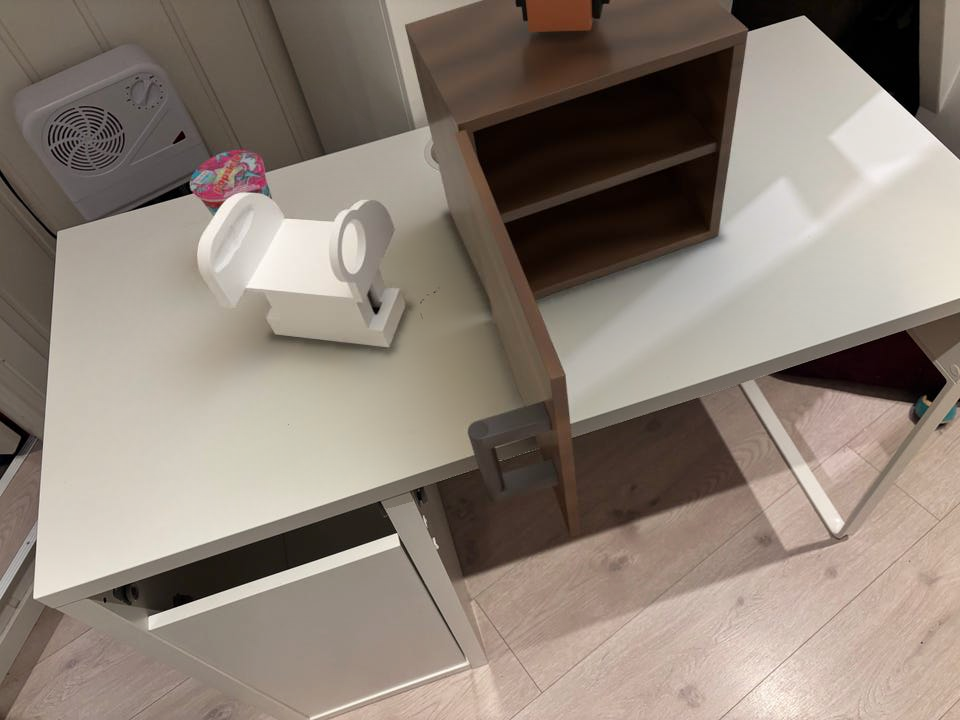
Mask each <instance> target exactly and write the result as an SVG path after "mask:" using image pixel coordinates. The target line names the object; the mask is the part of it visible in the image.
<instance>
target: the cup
mask: <svg viewBox="0 0 960 720" xmlns="http://www.w3.org/2000/svg"><path fill="white" fill-rule="evenodd" d="M189 189H190V191H191V192H192V193H193V195H195V196H196V197H197V198H198V199H199V200H201V202H202V203H203V204H204V206H205V207H206V208H207V210H208V212H210V213H211V215H212V216H213V217H214V216H215V214H216V212H217V211H218V209H219V208H220V206H221V205H222V204H223V203H224V202H225V201H226V200H227V199H228V198H230V197H231V196H233V195H235V194H237V193H243V192H245V193H260V194H264V195H266V196H268V197H269V198H271V199H272V200H273V201H274V199H273V196H272V193H271V191H270V188H269V184H268V181H267V176H266V170H265V165H264V161H263V158H262V157H261V156H260V155H258V154H257V153H255V152H253V151H251V150H244V149H234V150H228V151H224V152H221V153H219V154H216V155H214V156H212V157H211V158H209V159H207V160H205V161H204V162H203V163H201V164H200V165H199V166H198V167H197V168H196V169H195V171H194V172H193V173H192V175H191V177H190V181H189Z"/></svg>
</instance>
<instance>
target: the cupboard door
mask: <svg viewBox="0 0 960 720" xmlns="http://www.w3.org/2000/svg"><path fill="white" fill-rule="evenodd" d="M455 138H456V143H457V147H458V152H459V157H460V162H461V166H462V171H463V176H464V181H465V185H466V190H467V195H468V200H469V204H470V209H471V214H472V219H473V223H474V228H475V233H476V238H477V242H478V247H479V252H480V257H481V261H482V266H483V271H484V276H485V280H486V285H487V290H488V295H489V297H488V299H489V304H490V309H491V313H492V317H493V321H494V325H495V327H496V330H497V333H498V336H499V338H500V341H501V345H502V347H503V350H504V353H505V356H506V358H507V361H508V365H509V367H510V370H511V372H512V375H513V376H512V377H513V378H514V381H515V384H516V387H517V389H518V392H519V396H520V399H521V401H522V404H523V406H522V407H518V408H515V409H512V410H509V411H505V412H501V413H499V414H495V415H492V416H488V417H485V418H481V419H478V420H475V421H473V422H472V423H471V424H469V425H468V428H467V435H468V439H469V442H470V446H471V448H472V451H473V452H472V453H473V454H474V458H475V461H476V465H477V467H478V470H479V474H480V477H481V480H482V483H483V486H484V487H483V488H484V489H485V492H486V496H487V499H488V500H489V501H491V502H492V503H494V504H498V503H502V502H506V501H510V500H513V499H515V498H519V497H522V496H525V495H530V494H533V493H536V492H539V491H542V490H546V489H550V488H552V490H553V493H554V495H555V499H556V500H557V504H558V506H559V509H560V513H561V515H562V518H563V521H564V524H565V526H566V530H567V533H568V535H569V538H570V539H575V538H576V537H580V536H582V528H581V518H580V517H581V516H580V507H579V495H578V487H577V477H576V467H575V456H574V445H573V436H572V426H571V418H570V417H571V416H570V406H569V405H570V404H569V397H568V396H569V395H568V387H567V377H566V372H565V370H564V368H563V366H562V363H561V361H560V358H559V355H558V353H557V351H556V348H555V346H554V343H553V340H552V338H551V336H550V333H549V330H548V328H547V325H546V323H545V320H544V319H543V315H542V314H541V311H540V309H539V306H538V304H537V301H536V299H534V296H533V294H532V291H531V289H530V286H529V284H528V281H527V279H526V276H525V274H524V272H523V269H522V267H521V264H520V262H519V259H518V257H517V254H516V252H515V249H514V247H513V244H512V242H511V240H510V237H509V235H508V232H507V230H506V227H505V225H504V222H503V220H502V217H501V215H500V212H499V210H498V208H497V205H496V203H495V200H494V198H493V195H492V193H491V190H490V188H489V185H488V183H487V180H486V178H485V176H484V173H483V171H482V168H481V166H480V163H479V161H478V158H477V156H476V153H475V151H474V148H473V146H472V144H471V141H470V139H469V136H468V134H467V131H466V130H463V131H460V132H456V133H455ZM488 295H487V296H488ZM531 437H534V438H535V441H536V443H537V447H538V449H539V452H540V455H541V459H542V461H539V462H536V463H532V464H530V465H527V466H523V467H519V468H515V469H513V470H509V471H505V472H502V468H501V465H500V461H499V456H498V453H497V449H496V448H497V447H502V446H504V445H509V444H511V443H514V442H518V441H521V440H525V439H529V438H531Z"/></svg>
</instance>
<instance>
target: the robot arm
mask: <svg viewBox="0 0 960 720" xmlns="http://www.w3.org/2000/svg"><path fill="white" fill-rule="evenodd" d="M515 2H516V7H522V15H523V21H528V16H527V6H526V0H515ZM609 3H610V0H592V17H594V19H600V17H601V13H602V8H603V4H609Z"/></svg>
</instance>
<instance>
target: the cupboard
mask: <svg viewBox="0 0 960 720" xmlns="http://www.w3.org/2000/svg"><path fill="white" fill-rule="evenodd" d="M404 28H405V32H406V36H407V40H408V44H409V49H410V53H411V57H412V62H413V65H414V69H415V74H416V77H417V82H418V87H419V90H420V95H421V99H422V103H423V106H424V111H425V115H426V119H427V123H428V128H429V132H430V136H431V140H432V144H433V147H434V153H435V157H436V161H437V165H438V169H439V173H440V177H441V182H442V185H443V190H444V195H445V198H446V201H447V206H448V210H449V211H448V212H449V213H450V216H451V218H452V220H453V223H454V225H455V226H456V228H457V231H458V234H459V235H460V238H461V239H462V242H463V244H464V246H465V248H466V251H467V253H468V255H469V258H470V259H471V262H472V264H473V266H474V268H475V270H476V272H477V275H478V277H479V279H480V281H481V284H482V286H483V288H484V290H485V293H486V294H487V297H488V298H489V295H488V290H487V285H486V280H485V276H484V271H483V266H482V261H481V257H480V252H479V247H478V242H477V238H476V233H475V228H474V223H473V219H472V214H471V209H470V204H469V200H468V195H467V190H466V185H465V181H464V176H463V171H462V166H461V162H460V157H459V152H458V147H457V143H456V138H455V133H456V132H460V131H463V130H466V131H467V134H468V136H469V139H470V141H471V144H472V146H473V148H474V151H475V153H476V156H477V158H478V161H479V163H480V166H481V168H482V171H483V173H484V176H485V178H486V180H487V183H488V185H489V188H490V190H491V193H492V195H493V198H494V200H495V203H496V205H497V208H498V210H499V212H500V215H501V217H502V220H503V222H504V225H505V227H506V230H507V232H508V235H509V237H510V240H511V242H512V244H513V247H514V249H515V252H516V254H517V257H518V259H519V262H520V264H521V267H522V269H523V272H524V274H525V276H526V279H527V281H528V284H529V286H530V289H531V291H532V294H533V296H534V299H535V300H538V299H541V298H544V297H547V296H549V295H552V294H555V293H558V292H560V291H564V290H567V289H570V288H572V287H575V286H579V285H582V284H584V283H587V282H590V281H592V280H595V279H598V278H601V277H604V276H608V275H610V274H613V273H616V272H618V271H621V270H624V269H627V268H630V267H633V266H635V265H640V264H641V263H645V262H647V261H650V260H653V259H655V258H658V257H661V256H664V255H667V254H670V253H673V252H676V251H679V250H681V249H684V248H688V247H690V246H693V245H696V244H699V243H701V242H704V241H707V240H711V239H714V238H717V237H718V236H719V233H720V226H721V219H722V214H723V213H722V212H723V205H724V200H725V193H726V186H727V179H728V172H729V166H730V165H729V164H730V158H731V151H732V144H733V137H734V131H735V124H736V118H737V110H738V103H739V98H740V97H739V96H740V90H741V82H742V77H743V69H744V63H745V57H746V56H745V55H746V50H747V40H748V34H749V28H748V27H747V26H745V24H744V23H742V22H741V21H740V20H739V19H738V18H736V17H735V16H734V15H733V14H732V13H731V12H729V11H728V10H727V9H726V8H725V7H724V6H723V5H722V4H721V3H720V2H718V1H717V0H610V3H609V4H603V8H602V13H601V17H600V19H594V18H593V22H592V27H591V30H589V31H551V32H529V26H528V21H523V15H522V7H516V2H515V0H478V1H475V2H472V3H468V4H466V5H462V6H459V7H456V8H453V9H450V10H447V11H443V12H440V13H437V14H434V15H431V16H428V17H425V18H421V19H418V20H415V21H412V22H409V23H406V24H404Z"/></svg>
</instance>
